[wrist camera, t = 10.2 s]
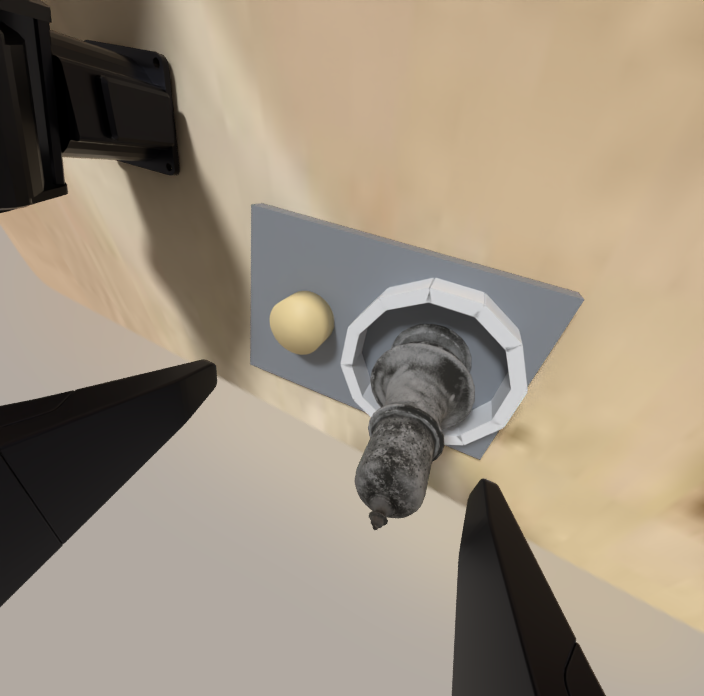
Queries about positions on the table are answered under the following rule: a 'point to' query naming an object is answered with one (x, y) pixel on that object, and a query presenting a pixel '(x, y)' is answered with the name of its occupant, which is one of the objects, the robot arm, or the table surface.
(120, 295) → the table surface
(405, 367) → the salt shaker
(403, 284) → the socket board
